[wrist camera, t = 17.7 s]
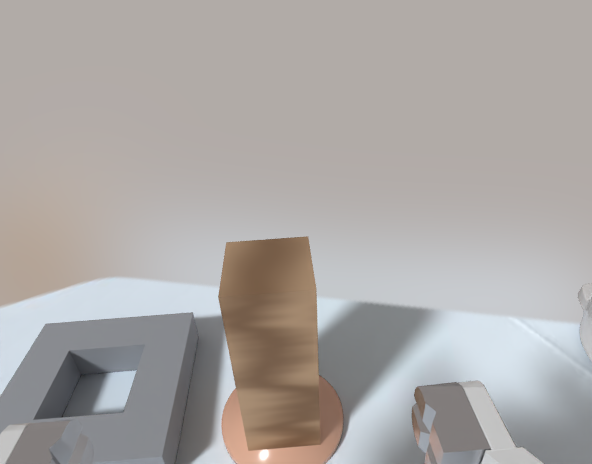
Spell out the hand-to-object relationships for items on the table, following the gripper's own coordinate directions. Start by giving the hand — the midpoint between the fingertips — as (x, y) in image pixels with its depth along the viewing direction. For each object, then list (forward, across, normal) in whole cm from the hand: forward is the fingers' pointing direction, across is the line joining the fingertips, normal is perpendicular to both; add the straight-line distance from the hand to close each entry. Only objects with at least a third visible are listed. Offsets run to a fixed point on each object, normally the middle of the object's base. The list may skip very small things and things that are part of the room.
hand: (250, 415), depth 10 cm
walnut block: (+12, 0, +19) cm, 22 cm away
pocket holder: (+15, +14, +19) cm, 28 cm away
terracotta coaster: (+12, 0, +20) cm, 23 cm away
